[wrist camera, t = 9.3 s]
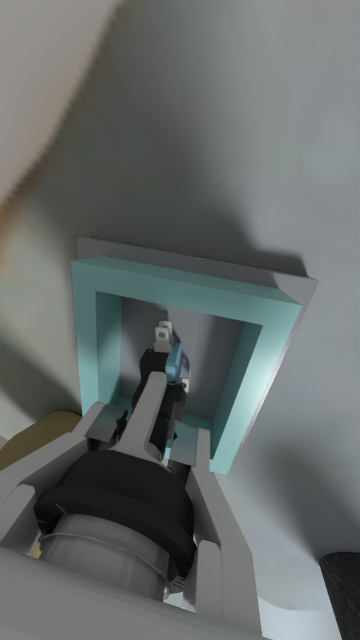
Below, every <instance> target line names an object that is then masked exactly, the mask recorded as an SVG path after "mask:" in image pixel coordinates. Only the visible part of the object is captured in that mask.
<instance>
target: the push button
mask: <svg viewBox="0 0 360 640" xmlns="http://www.w3.org/2000/svg"><path fill="white" fill-rule="evenodd" d="M163 326H167V327H168V328H169V329H168V328H167V327H163ZM159 333H160V336H159ZM155 334H156V343H154V347H153V349H146V351H145V353H144V354H143V356H142V357H141V359H140V363H139V367H140V375H141V380H140V383H139V385H138V387H137V389H136V391H135V393H134V395H133V397H132V401H131V405H132V409H133V410H132V416H131V418H130V421H129V423H128V425H127V427H126V429H125V431H124V434H123V436H122V438H121V440H120V441H119V443H117V444H116V445H115V446H114V447H112V448H109V449H107V450H98V451H88V452H86V453H85V454H84V455H83V456H81V457H80V458H79V459H78V460H77V461H76V462H74V463H73V464H72V465H71V466H70V467H69V468H68V470H67V471H66V472H65V474H64V475H63V476H62V478H61V479H60V481H59V482H58V484H57V485H56V487H55V488H52V489H50V490H47V491H46V492H44V493H43V494H42V495H41V496H40V497H39V498H38V501H37V503H36V504H35V506H34V507H33V509H34V512H35V514H34V515H35V516H36V520H37V522H38V525H39V529H40V531H41V535H40V537H39V538H38V540H37V541H38V542H39V543H40V546H39V550H40V551H41V554H40V556H39V558H38V559H40V560H43V561H46V562H49V563H52V564H54V565H57V566H60V567H63V568H66V569H69V570H72V571H75V572H78V573H80V574H83V575H86V576H89V577H92V578H95V579H98V580H101V581H104V582H107V583H109V584H112V585H115V586H118V587H121V588H124V589H127V590H130V591H133V592H136V593H138V594H141V595H144V596H147V597H150V598H153V599H156V600H159V601H162V602H163V600H165V599H167V598H168V596H169V595H170V594H172V593H179V592H183V591H184V582H185V579H186V577H187V575H188V572H189V571H190V568H191V566H192V564H193V562H194V554H195V552H196V549H197V546H196V544H195V542H194V541H193V535H194V510H193V504H192V501H191V499H190V497H189V495H188V493H187V491H186V490H185V488H184V486H183V484H182V482H181V480H180V479H179V478H178V477H176V476H175V475H174V474H173V473H172V471H171V470H170V469H169V468H167V467H166V466H164V465H163V464H162V463H160V462H161V461H162V460H163V458H164V455H165V450H166V446H167V442H168V440H170V439H171V438H172V433H173V428H174V423H175V422H177V421H180V422H181V421H182V419H183V417H184V413H185V407H186V400H187V397H186V392H188V389H189V384H190V377H191V366H189V371H188V378H182V345H181V343H175V341H174V337H172V322H171V321H160V322H159V327H156V328H155Z"/></svg>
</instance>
